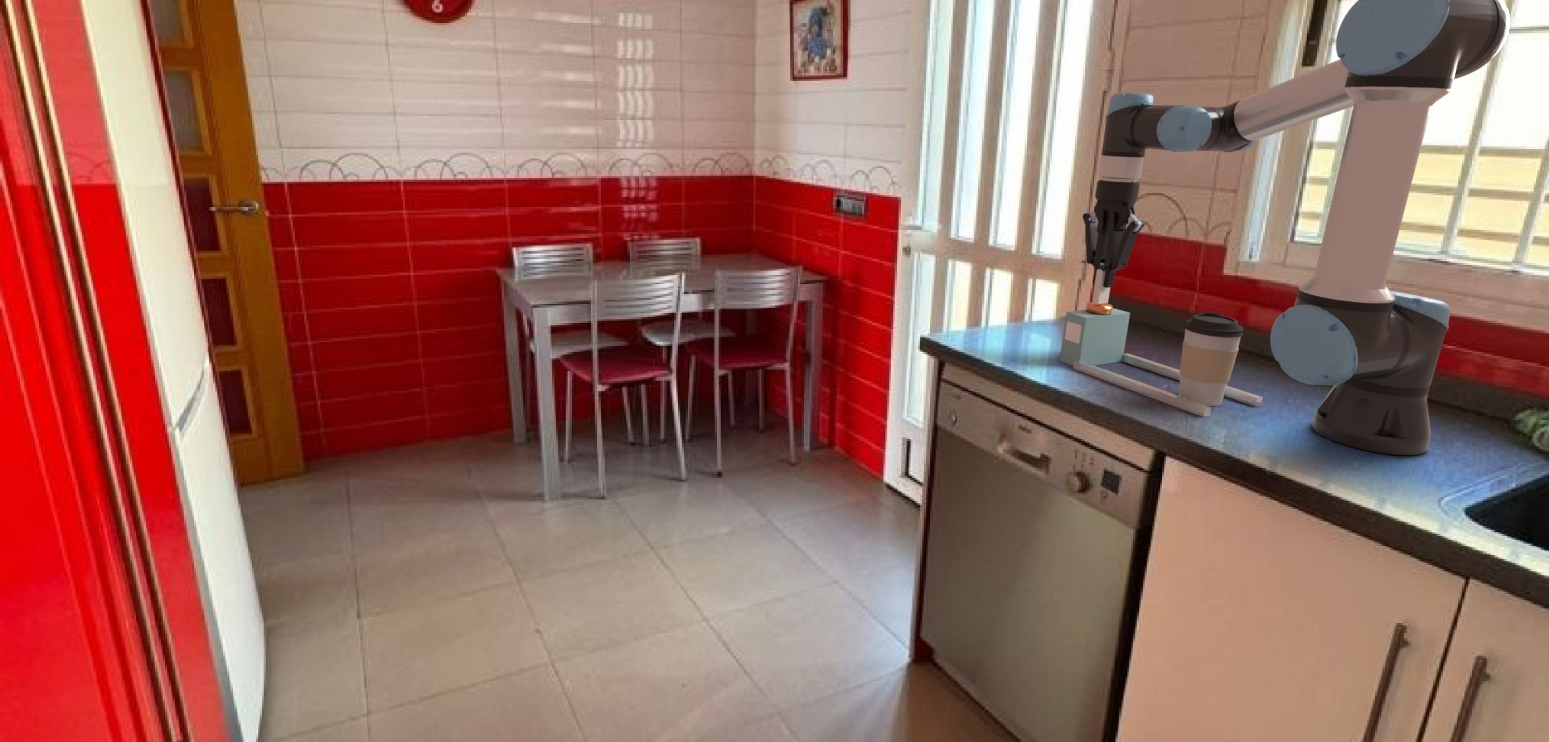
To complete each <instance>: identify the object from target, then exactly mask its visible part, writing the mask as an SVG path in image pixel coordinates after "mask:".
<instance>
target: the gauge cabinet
mask: <svg viewBox="0 0 1549 742" xmlns="http://www.w3.org/2000/svg"><path fill="white" fill-rule="evenodd" d="M1065 312H1066V314H1065V320H1064V328H1063V335H1062V343H1061V349H1060V356H1059V362H1062V363H1064V364H1067V365H1070V366H1074V361H1079V360H1080V361H1083V362H1086V363H1088V364H1091V365H1094V366H1099V365H1107V364H1112V363H1113V364H1114V363H1121V362H1123V361H1122V360H1123V354H1125V346H1126V342H1127V341H1126V340H1127V335H1128V330H1129V322H1130V315H1131V312H1128V311H1125V310H1121V309H1118V308H1114V307H1113V308H1112V313H1111V314H1108V315H1098V314H1093V313H1089V312H1087V311H1086V309H1083V310H1082V309H1081V310H1072V311H1065Z"/></svg>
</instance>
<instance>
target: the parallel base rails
mask: <svg viewBox="0 0 1549 742" xmlns="http://www.w3.org/2000/svg"><path fill="white" fill-rule="evenodd" d="M1121 362H1122V363H1126V364H1129V365H1132V366H1134V367H1138V368H1141V369H1144V370H1147V371H1149V372H1152V373H1156V374H1159V375H1161V376H1165V377H1167V378H1170V379H1173V380H1175V381H1179V382H1180V369H1177V368H1174V367H1171V366H1168V365H1165V364H1161V363H1159V362H1155V361H1152V360H1150V359H1147V358H1144V357H1141V356H1137V355H1134V354H1131V353H1129V352H1128V353H1124V354H1123V360H1122V361H1121ZM1072 369H1073V370H1076V371H1079V372H1081V373H1083V374H1087V375H1089V376H1092V377H1095V378H1097V379H1100V380H1102V381H1105V382H1108V383H1111V384H1114V385H1116V386H1119V387H1122V388H1125V389H1126V390H1130V391H1132V392H1135V393H1137V394H1141V395H1143V396H1145V397H1148V398H1151V399H1155V400H1156V401H1159V402H1161V403H1165V404H1167V405H1170V406H1173V407H1176V408H1178V409H1181V410H1184V411H1187V412H1188V413H1192V414H1194V415H1197V416H1200V417H1202V418H1205V417H1210V416H1211V411H1212V406H1206V405H1203V404H1200V403H1198V402H1195V401H1192V400H1189V399H1186V398H1184V397H1181V396H1178V394H1174V393H1172V392H1169V391H1167V390H1164V389H1161V388H1158V387H1155V386H1153V385H1150V384H1147V383H1144V382H1143V381H1142V382H1141V381H1139V380H1136V379H1133V378H1130V377H1127V376H1125V375H1121V374H1119V373H1117V372H1114V371H1111V370H1108V369H1105V368H1102V367H1099V366H1098V365H1091V364H1088V363H1086V362H1083V361H1080V360H1079V361H1074V366H1073V367H1072ZM1223 397H1226V398H1229V399H1232V400H1235V401H1237V402H1240V403H1244V404H1247V405H1249V406H1252V407H1259V406H1262V403H1263V402H1262V401H1263V398H1264V397H1263V396H1260V395H1258V394H1254V393H1251V392H1248V391H1245V390H1241V389H1239V388H1236V387H1232V386H1229V385H1227V386H1226V389H1225V393H1224V396H1223Z"/></svg>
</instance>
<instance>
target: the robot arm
mask: <svg viewBox="0 0 1549 742" xmlns="http://www.w3.org/2000/svg"><path fill="white" fill-rule="evenodd" d="M1510 25H1511V18H1510V13H1509V9H1508V7H1507V6H1506V3H1505V1H1504V0H1356V2H1354V4H1353V5H1352V6H1351V7H1350V8H1349V9H1348V12H1347V13H1346V14H1345V16H1344V18H1343V19H1342V21H1341V23H1340V25H1339V28H1338V30H1337V34H1336V40H1335V51H1336V55H1337V57H1338V58H1339V59H1337V60H1335V61H1333V62H1329V63H1328V64H1325V65H1323V66H1320V67H1317V68H1315V69H1313V70H1311V71H1308V72H1306V73H1303V74H1300V75H1298V76H1296V77H1293V78H1291V79H1288V80H1286V81H1283V82H1280V83H1279V84H1276V85H1273V86H1271V87H1269V88H1266V89H1263V90H1260V91H1259V92H1256V93H1254V94H1250V95H1248V96H1247V97H1243V99H1239V100H1237V101H1234V102H1232V103H1230V104H1229V103H1228V104H1227V105H1224V106H1200V105H1199V106H1196V105H1193V104H1178V105H1177V104H1175V105H1174V104H1170V105H1169V104H1167V105H1165V104H1164V105H1162V104H1160V105H1156V104H1154V95H1153V94H1151V93H1141V92H1139V93H1138V92H1137V93H1136V92H1129V93H1127V92H1116V93H1114V94H1112V95H1111V97H1110V99H1109V103H1108V108H1107V112H1106V115H1105V125H1104V132H1103V133H1104V134H1103V139H1102V147H1101V148H1102V149H1101V150H1102V151H1101V156H1100V160H1099V166H1098V173H1097V176H1098V177H1099V178H1100V179H1098V181H1097V182H1096V188H1095V194H1094V197H1095V199H1096V204H1095V205H1094V207H1093V210H1092V211H1090V212H1087V213H1085V212H1084V213H1083V215H1082V220H1083V224H1084V226H1085V227H1084V229H1085V246H1086V247H1085V251H1086V252H1085V253H1086V263H1087V264H1089V265H1091V266H1093V269H1094V270H1093V276H1092V277H1093V278H1092V285H1094V287H1093V293H1092V301H1091V302H1092V303H1096V304H1103V303H1107V304H1109V298H1110V292H1111V288H1113V286H1114V282H1115V278H1116V272H1117V271H1118V270H1123V269H1126V267H1127V265H1128V262H1129V259H1130V257H1131V253H1132V251H1133V248H1134V246H1135V244H1136V242H1137V237H1138V236H1139V233H1140V231H1141V230H1142V229H1143V228H1144V226H1145V221H1144V220H1139V218H1138V217H1137V216H1136V210H1135V203H1136V202H1137V201H1138V199H1139V193H1140V192H1139V191H1140V188H1141V187H1140V186H1141V184H1140V182H1139V181H1138V180H1140V179H1141V178H1142V173H1143V165H1144V159H1145V154H1146V150H1149V149H1151V150H1160V151H1170V152H1173V153H1177V152H1180V153H1186V152H1195V151H1196V152H1223V153H1234V152H1241V151H1244V150H1245V151H1246V150H1248V149H1249V148H1252V146H1253V145H1254V144H1255V143H1256V142H1257V141H1258V140H1261V139H1263V138H1265V137H1269V136H1272V135H1275V134H1277V133H1280V132H1283V131H1286V130H1288V129H1292V128H1295V127H1297V126H1301V125H1303V124H1306V123H1309V122H1311V121H1315V120H1318V119H1321V118H1323V117H1327V116H1329V115H1332V114H1335V113H1337V112H1338V113H1339V112H1341V111H1343V110H1346V109H1350V108H1352V110H1351V115H1350V120H1349V124H1348V128H1347V133H1346V136H1345V141H1344V144H1343V150H1342V153H1341V158H1340V162H1339V166H1338V167H1339V168H1338V171H1337V175H1336V180H1335V184H1334V188H1333V193H1332V196H1331V197H1332V198H1331V201H1330V205H1329V211H1328V214H1327V218H1326V222H1325V227H1324V231H1323V236H1322V239H1321V245H1320V250H1319V252H1318V253H1319V254H1318V258H1317V261H1316V266H1315V269H1314V274H1313V276H1312V277H1310V278H1309V279H1308V280H1306V281H1304V282H1302V283H1301V284H1299V287H1298V289H1297V293H1296V294H1297V295H1296V298H1295V302H1294V306H1291V307H1289V308H1288V309H1286V310H1285V311H1284V312H1283V313H1281V314H1280V315H1279V316H1278V317H1276V319H1275V321H1274V323H1273V325H1272V327H1271V330H1270V337H1269V339H1270V340H1269V341H1270V349H1271V352H1272V355H1273V357H1274V360H1275V361H1277V362H1278V363H1279V366H1280V368H1281V370H1282V371H1283V372H1284V373H1286V374H1287V375H1288V376H1289V377H1291V378H1292V379H1294V380H1296V381H1298V382H1299V383H1303V384H1307V385H1314V386H1316V385H1317V386H1319V385H1320V386H1321V385H1324V386H1332V388H1331V389H1330V391H1329V392H1328V394H1327V396H1325V398H1324V399H1323V401H1322V402H1321V404H1320V405H1319V406H1318V409H1316V411H1315V412H1314V417H1313V422H1312V425H1311V426H1312V428H1313V430H1314V431H1315V432H1316V433H1318V434H1319V435H1320V436H1323V437H1325V438H1326V439H1329V440H1331V441H1333V442H1336V443H1339V444H1342V445H1345V446H1348V447H1351V448H1356V449H1358V450H1359V449H1360V450H1363V451H1369V452H1374V453H1380V454H1385V455H1387V454H1388V455H1394V456H1395V455H1398V456H1415V455H1421V454H1424V453H1426V452H1427V451H1428V448H1429V446H1430V441H1431V437H1432V433H1431V425H1430V416H1429V407H1428V395H1429V392H1430V388H1431V386H1432V382H1433V379H1434V375H1435V371H1436V369H1437V365H1438V361H1439V359H1440V358H1439V357H1440V355H1441V351H1442V347H1443V344H1444V341H1445V337H1446V334H1447V331H1448V330H1449V328H1450V325H1449V320H1450V316H1451V307H1450V306H1449V304H1447V303H1446V302H1445V301H1443V300H1439V299H1435V298H1430V297H1425V296H1419V295H1416V294H1411V293H1410V294H1409V293H1405V292H1400V291H1394V290H1390V289H1389V288H1388V287H1387V285H1386V282H1387V279H1388V275H1389V273H1390V268H1391V264H1392V259H1393V256H1394V251H1395V248H1396V245H1397V242H1398V236H1399V233H1400V229H1401V226H1402V222H1403V218H1404V214H1405V209H1406V206H1407V202H1408V198H1409V195H1410V190H1411V187H1412V184H1413V179H1414V175H1415V172H1416V167H1417V164H1418V160H1419V158H1420V157H1419V156H1420V153H1421V148H1422V144H1423V141H1424V137H1425V134H1426V133H1425V132H1426V130H1427V124H1428V123H1429V118H1430V115H1431V110H1432V106H1434V104H1435V103H1436V102H1438V101H1440V100H1441V99H1442V98H1444V97H1445V96H1447V95H1449V93H1450V92H1451V89H1452V87H1453V81H1454V80H1457V79H1461V78H1462V77H1465V76H1468V75H1470V74H1472V73H1474V72H1476V71H1479V70H1480V69H1481V68H1483V67H1484V66H1486V65H1487V64H1488V63H1490V62H1491V61H1492V59H1493V58H1495V56H1496V55H1497V54H1498V53H1499V52H1500V50H1501V49H1502V48H1503V45H1504V44H1505V43H1506V41H1507V38H1508V35H1509V30H1510Z"/></svg>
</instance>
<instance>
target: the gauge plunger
mask: <svg viewBox="0 0 1549 742" xmlns="http://www.w3.org/2000/svg"><path fill="white" fill-rule="evenodd" d="M1085 305H1086V306H1085V310H1086V311H1087V312H1089V313H1093V314H1098V315H1108V314H1111V313H1112V308H1114V307H1113V305H1112V304H1110V303H1103V304H1096V303H1092V301H1090V302H1089V301H1087V302H1086V304H1085Z"/></svg>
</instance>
